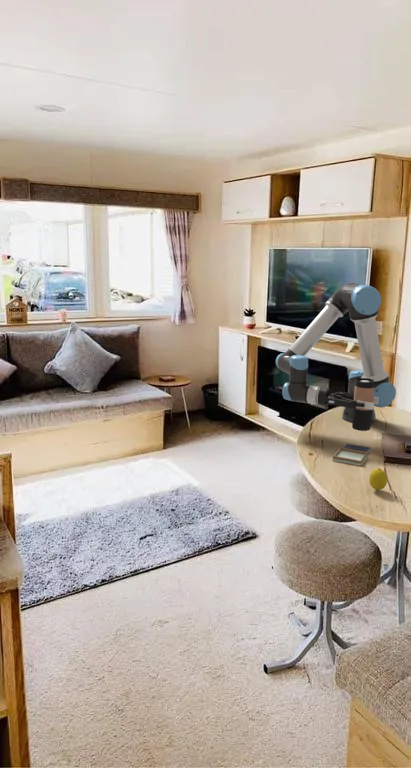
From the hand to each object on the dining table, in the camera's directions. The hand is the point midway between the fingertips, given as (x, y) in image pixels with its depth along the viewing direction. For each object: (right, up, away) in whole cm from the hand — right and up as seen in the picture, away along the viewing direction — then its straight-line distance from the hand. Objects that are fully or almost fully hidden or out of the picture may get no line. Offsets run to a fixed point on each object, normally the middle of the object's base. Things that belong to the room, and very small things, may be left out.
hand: (375, 403), depth 220 cm
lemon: (-11, -28, -36) cm, 47 cm away
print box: (-12, -21, -8) cm, 25 cm away
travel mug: (-4, -10, +5) cm, 12 cm away
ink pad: (-8, -19, 0) cm, 20 cm away
